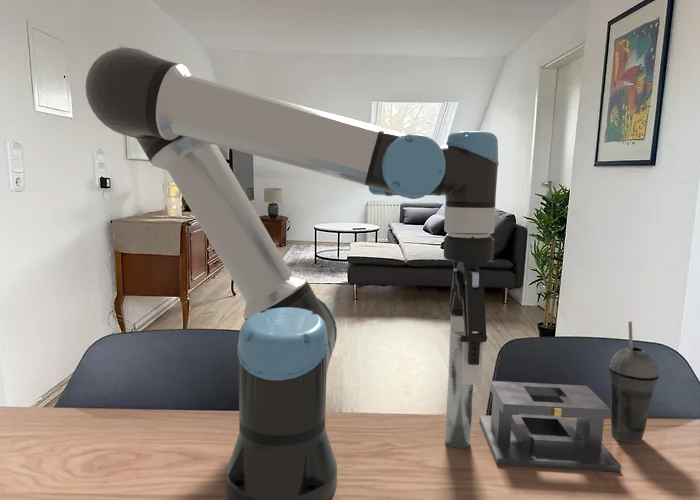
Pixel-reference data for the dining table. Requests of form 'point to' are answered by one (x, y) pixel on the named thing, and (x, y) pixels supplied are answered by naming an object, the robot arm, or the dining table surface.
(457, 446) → the silver metal cylinder
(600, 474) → the dining table surface
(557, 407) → the grey holder stand
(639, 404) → the beverage cup
